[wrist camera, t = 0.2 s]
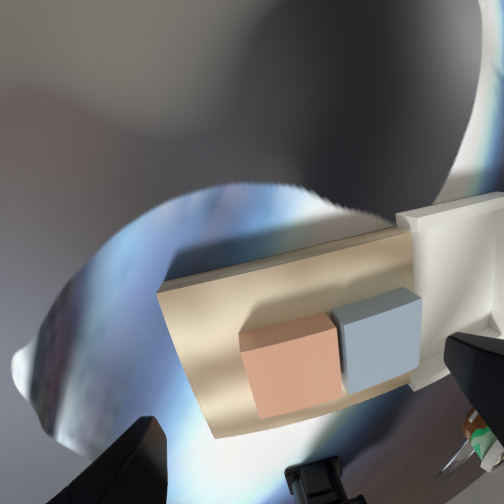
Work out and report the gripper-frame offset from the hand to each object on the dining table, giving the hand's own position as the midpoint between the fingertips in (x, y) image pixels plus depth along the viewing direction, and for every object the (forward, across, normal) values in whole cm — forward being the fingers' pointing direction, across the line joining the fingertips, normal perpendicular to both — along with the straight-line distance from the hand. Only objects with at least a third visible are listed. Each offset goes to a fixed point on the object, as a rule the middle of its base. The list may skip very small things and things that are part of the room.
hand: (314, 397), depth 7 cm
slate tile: (+12, -7, +6) cm, 15 cm away
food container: (+15, -27, +33) cm, 46 cm away
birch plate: (+14, -2, +6) cm, 16 cm away
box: (+14, -18, +6) cm, 24 cm away
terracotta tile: (+12, -1, +6) cm, 13 cm away
